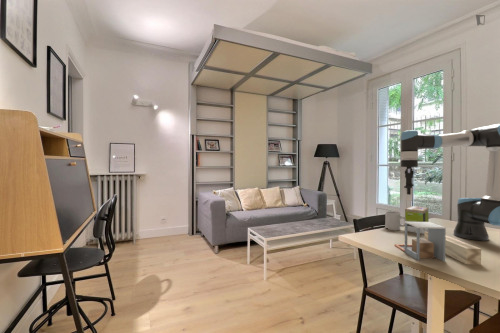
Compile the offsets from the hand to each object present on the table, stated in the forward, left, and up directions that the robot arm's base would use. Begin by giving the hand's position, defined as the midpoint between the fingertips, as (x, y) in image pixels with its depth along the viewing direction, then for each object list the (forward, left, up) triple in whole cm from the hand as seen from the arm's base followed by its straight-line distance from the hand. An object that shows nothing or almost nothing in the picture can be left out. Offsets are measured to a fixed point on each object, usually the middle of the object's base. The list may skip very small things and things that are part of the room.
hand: (409, 199), depth 127 cm
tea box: (-21, -28, -24) cm, 43 cm away
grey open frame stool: (+3, +14, -24) cm, 28 cm away
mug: (-8, -29, -24) cm, 39 cm away
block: (+3, +17, -24) cm, 30 cm away
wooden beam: (-12, +12, -24) cm, 30 cm away
